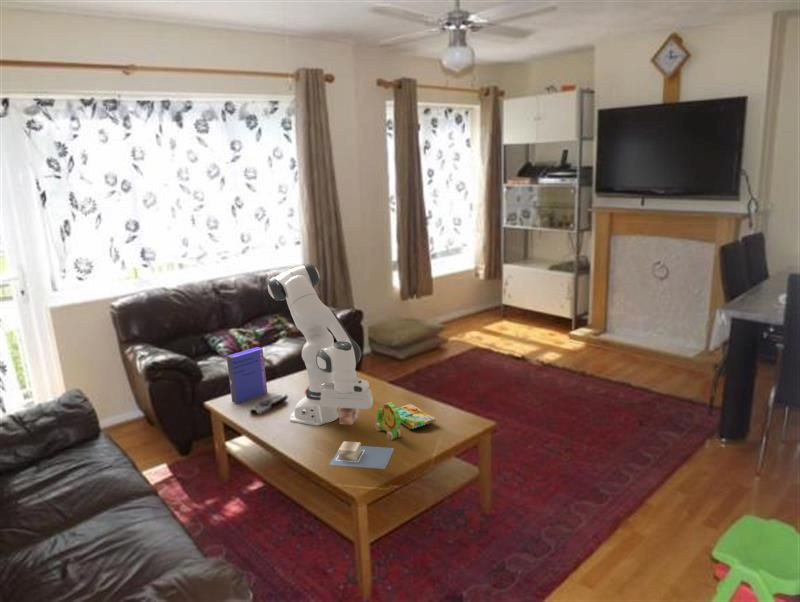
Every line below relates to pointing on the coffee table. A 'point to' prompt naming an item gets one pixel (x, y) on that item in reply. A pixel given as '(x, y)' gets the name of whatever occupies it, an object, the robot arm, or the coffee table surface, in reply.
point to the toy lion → (388, 420)
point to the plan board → (367, 458)
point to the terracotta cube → (346, 416)
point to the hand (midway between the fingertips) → (347, 417)
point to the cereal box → (247, 374)
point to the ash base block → (349, 450)
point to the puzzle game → (414, 416)
